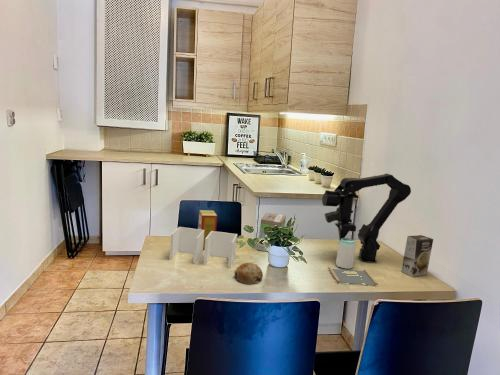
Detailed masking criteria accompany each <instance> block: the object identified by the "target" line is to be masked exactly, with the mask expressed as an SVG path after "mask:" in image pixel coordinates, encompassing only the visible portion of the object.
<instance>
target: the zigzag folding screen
mask: <svg viewBox="0 0 500 375" xmlns="http://www.w3.org/2000/svg"><path fill="white" fill-rule="evenodd" d="M236 241H238V233H231V232H230V233H229V232H223V231H217V230H216V231H211V232H210V234H209V235H208V236H207V237H206V239H205V250H203V243H204V230H200V229H198V228H191V227H184V226H178V227H177V228H176V229H174V231H173V232H171V234H170V245H169V246H170V247H169V260H170V261H173V258H174V257H175V255H177V254H178V253H179V252H180V253H187V254H193V264H197V263H198V261H199V260H200V259H201V258H202V256H203V254H204V256H203V265H205V266H206V265H208V264H207V263H208V260H209V259H210V257H216V258H217V257H218V258H224V259H228V262H227V263H228V264H227V268H228V269H232V267H233V265H234V262H235V260H236V256H237V254H236V253H237V252H236V250H237V243H236Z"/></svg>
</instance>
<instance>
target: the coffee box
mask: <svg viewBox="0 0 500 375" xmlns="http://www.w3.org/2000/svg"><path fill="white" fill-rule="evenodd" d="M406 237H407V238H406V243H405V248H404V254H403V258H402V259H403V260H402V266H401V269H400V270H401V273H404V274H405V275H408V276H410V277H412V278H414V277H421V276H427V275H428V270H429V264H430V260H431V255H432V254H431V253H432V248H433V243H434V238H432V237H428V236H425V235H423V234H420V235H419V234H418V235H407V236H406Z"/></svg>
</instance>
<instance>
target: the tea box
mask: <svg viewBox="0 0 500 375" xmlns="http://www.w3.org/2000/svg"><path fill="white" fill-rule="evenodd" d="M286 217H287V216H286V215H285V214H278V213H271V212H266V213H264V215H263V216H262V217H261V219H260V224H259V225H260V226H259V234H258V239H259V238H261V237H265V234H264V232H263V229H264V228H265V227H274V226H275V225H277V226H278V227H284V228H285V224H286ZM263 241H264V240H261V241H260V242H259V243H257V250H258V251H261V252H267V251H266V249H265V246H264V244H263V243H262V242H263Z"/></svg>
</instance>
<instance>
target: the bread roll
mask: <svg viewBox="0 0 500 375" xmlns="http://www.w3.org/2000/svg"><path fill="white" fill-rule="evenodd" d="M233 273H234V275H235V279H236V280H237V281H238V282H239V283H243V284H246V285H258V284H259V283H260V282H261V281H262V279H263V276H264V275H263V271H262V269H261V267H259V265H258V264H256V263H253V262H245V263H242V264H240V265H239V266H237V267H236V269H235V270H234V272H233Z"/></svg>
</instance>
